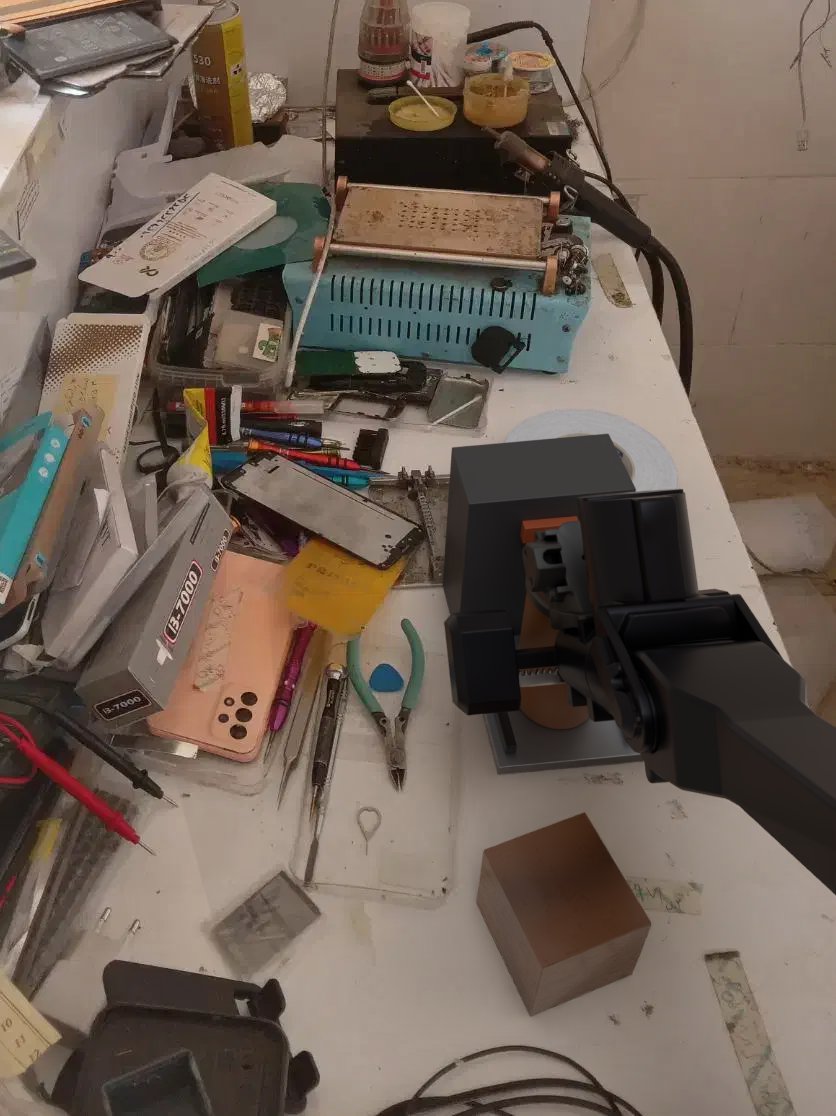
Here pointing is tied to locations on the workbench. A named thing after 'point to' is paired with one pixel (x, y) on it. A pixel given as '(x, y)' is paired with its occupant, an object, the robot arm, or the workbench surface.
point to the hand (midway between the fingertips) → (557, 632)
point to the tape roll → (631, 441)
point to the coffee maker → (516, 511)
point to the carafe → (546, 700)
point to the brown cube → (560, 913)
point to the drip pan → (553, 743)
